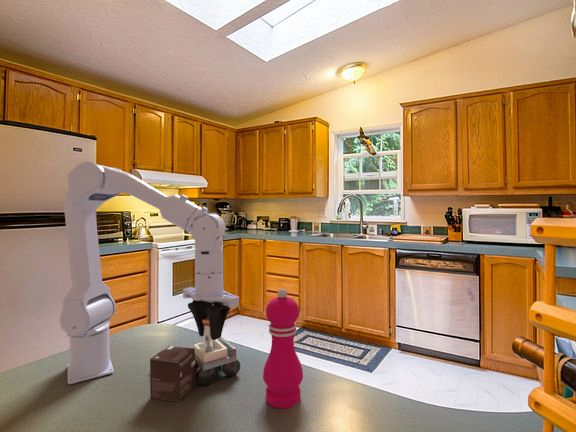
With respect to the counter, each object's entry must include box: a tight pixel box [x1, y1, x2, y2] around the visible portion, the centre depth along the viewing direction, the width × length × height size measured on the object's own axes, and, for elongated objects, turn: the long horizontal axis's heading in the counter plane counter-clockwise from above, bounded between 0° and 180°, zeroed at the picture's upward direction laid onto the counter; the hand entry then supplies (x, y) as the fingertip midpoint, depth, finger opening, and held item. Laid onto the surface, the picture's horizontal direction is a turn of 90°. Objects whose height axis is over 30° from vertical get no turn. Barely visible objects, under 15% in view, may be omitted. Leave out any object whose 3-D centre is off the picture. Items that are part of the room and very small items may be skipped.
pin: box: [202, 316, 215, 353], centre depth 66 cm, size 3×3×7 cm
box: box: [149, 345, 197, 403], centre depth 60 cm, size 6×6×7 cm
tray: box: [193, 339, 227, 363], centre depth 66 cm, size 6×5×2 cm
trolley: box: [195, 336, 241, 387], centre depth 67 cm, size 8×9×6 cm
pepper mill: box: [262, 288, 304, 409], centre depth 58 cm, size 7×7×20 cm
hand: (210, 336), depth 66 cm, fingers closed on pin, 3 cm apart
